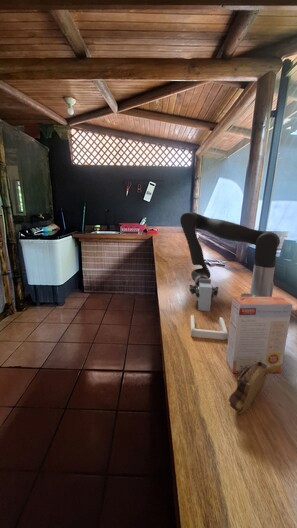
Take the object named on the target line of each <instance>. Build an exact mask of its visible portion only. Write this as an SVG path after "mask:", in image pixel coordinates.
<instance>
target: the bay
mask: <svg viewBox="0 0 297 528" xmlns="http://www.w3.org/2000/svg"><path fill="white" fill-rule="evenodd" d="M218 320H219V322H218V324H219V328H220V330H214V329H212V330H211V329H199V328H196V326H195V315H194V314H190V322H189V323H190V324H189V325H190V337H191V338H192V337H193V338H203V339H212V340H223V341H228V336H229V331H228V329H227V326H226V324H225V321H224V320H225V319H224V317H221V316H220V317H219V319H218Z"/></svg>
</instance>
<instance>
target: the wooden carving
mask: <svg viewBox="0 0 297 528" xmlns="http://www.w3.org/2000/svg"><path fill="white" fill-rule="evenodd" d="M266 370H267V365H266V364H264V363H261V362H258V364H255V365H253V366H252V365H251V366H250V367H247V368H246V369H242V370H241V371H240V372H239V373H237V374H238V375H237V376H238V377H237V385H236V388H235V390H234V392H233V393H231V395H230V396H229V398H228V402H229V406H230V407H231V409H233V410H234V411H235V412H237V413H238V414H239V415H242V414H243V413H244V412H246V411H247V410H248V409H249V408H250V406H251V405H252V404H253V402H254V401H255V399H256V398H257V396H258V394H259V392H260V391H261V390H262V389H263V387H264V385H265V383H266V380H267V377H268V375H269V373H268V372H267V371H266Z"/></svg>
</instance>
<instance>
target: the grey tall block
mask: <svg viewBox="0 0 297 528" xmlns="http://www.w3.org/2000/svg"><path fill="white" fill-rule="evenodd" d="M212 287H213V286H212V279H211V278H209V279H200V280H199V298H198V297H197V300H196V305H195V306H196V310H198V311H205V312H210V311H211V312H212V305H211V303H212V299H211V294H212Z"/></svg>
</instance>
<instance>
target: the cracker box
mask: <svg viewBox="0 0 297 528" xmlns="http://www.w3.org/2000/svg"><path fill="white" fill-rule="evenodd" d="M292 309H293V303H291V302H289V301H288V300H286V299H285V298H283V297H282V296H272V297H241V296H232V299H231V308H230V316H229V318H230V319H229V326H228V338H227V347H226V357H225V362H226V364H227V365H228V367H229V369H230V371H231V372H232V374H239V372H240V371H241V370H242V369H246V368H247V367H250V366H251V365H252V366H253V365H255V364H258V362H261V363H264V364H266V365H267V370H266V371H267V372H268V374H269V373H275V374H276V373H282V367H283V362H284V357H285V356H284V355H285V351H286V343H287V339H288V333H289V326H290V321H291V316H292V315H291V314H292Z"/></svg>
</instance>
